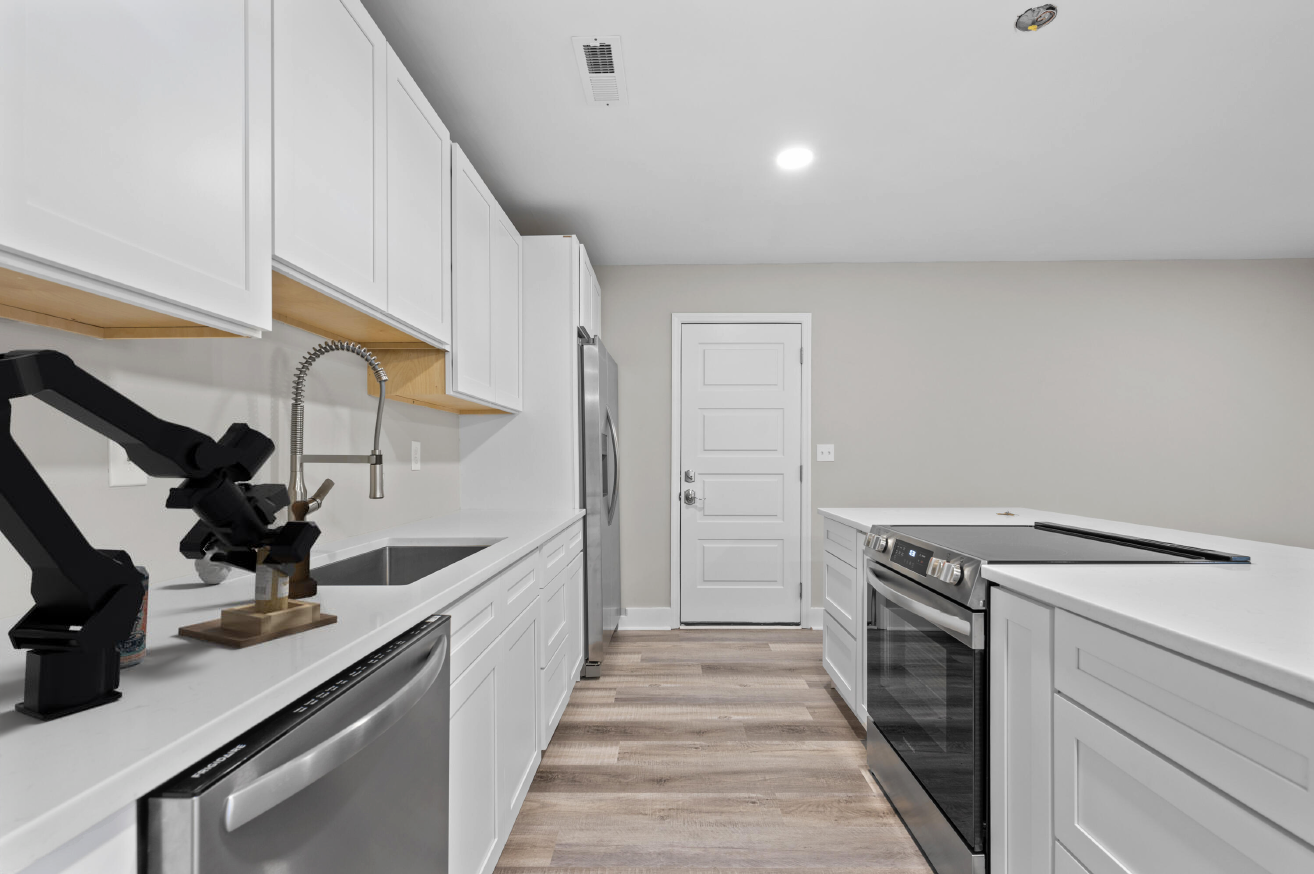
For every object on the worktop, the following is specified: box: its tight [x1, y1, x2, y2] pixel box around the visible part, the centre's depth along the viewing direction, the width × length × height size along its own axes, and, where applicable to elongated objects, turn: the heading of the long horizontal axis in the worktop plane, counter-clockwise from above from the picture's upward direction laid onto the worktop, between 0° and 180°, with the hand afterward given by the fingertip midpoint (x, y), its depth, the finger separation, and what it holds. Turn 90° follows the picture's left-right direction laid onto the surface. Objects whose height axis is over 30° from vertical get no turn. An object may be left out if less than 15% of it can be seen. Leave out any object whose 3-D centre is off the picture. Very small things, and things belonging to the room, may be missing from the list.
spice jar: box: [254, 547, 289, 614], centre depth 92 cm, size 5×5×14 cm
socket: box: [177, 599, 338, 649], centre depth 93 cm, size 15×14×4 cm
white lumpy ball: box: [194, 550, 233, 585], centre depth 124 cm, size 6×7×7 cm
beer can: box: [116, 565, 150, 669], centre depth 76 cm, size 5×5×12 cm
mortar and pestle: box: [288, 499, 318, 600], centre depth 115 cm, size 7×6×18 cm
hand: (279, 573), depth 93 cm, fingers closed on spice jar, 4 cm apart
